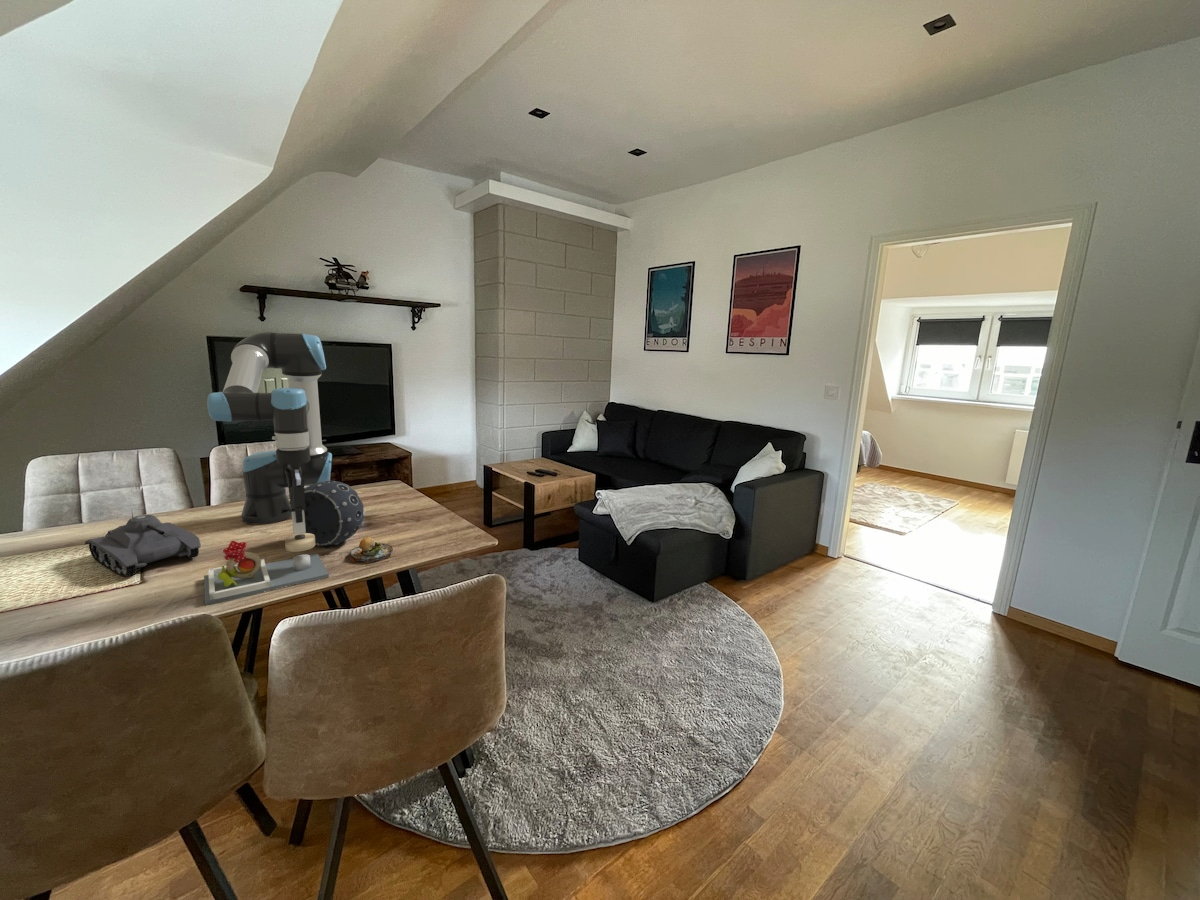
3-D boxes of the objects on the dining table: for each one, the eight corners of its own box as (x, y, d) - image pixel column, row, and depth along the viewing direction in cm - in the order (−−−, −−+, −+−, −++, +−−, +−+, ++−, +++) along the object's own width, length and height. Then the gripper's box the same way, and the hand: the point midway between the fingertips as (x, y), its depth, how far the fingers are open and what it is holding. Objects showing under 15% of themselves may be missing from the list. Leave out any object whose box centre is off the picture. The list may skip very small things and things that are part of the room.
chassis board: (204, 579, 125) (202, 565, 125) (317, 556, 142) (316, 543, 141) (205, 605, 113) (203, 589, 113) (328, 577, 130) (327, 563, 129)
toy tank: (123, 584, 122) (114, 528, 119) (86, 559, 133) (77, 508, 130) (206, 559, 137) (200, 509, 134) (167, 539, 149) (160, 493, 146)
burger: (398, 557, 145) (397, 534, 143) (356, 568, 137) (355, 543, 135) (384, 544, 153) (383, 522, 152) (344, 554, 145) (342, 530, 143)
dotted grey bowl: (346, 553, 145) (342, 490, 141) (289, 545, 148) (284, 483, 144) (369, 540, 155) (366, 481, 151) (316, 533, 159) (312, 474, 155)
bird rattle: (247, 581, 128) (206, 578, 121) (263, 540, 129) (224, 536, 122) (255, 589, 124) (213, 587, 117) (271, 547, 125) (231, 543, 118)
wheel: (283, 545, 132) (282, 534, 131) (313, 539, 136) (312, 529, 135) (287, 553, 126) (286, 542, 126) (317, 548, 131) (316, 537, 130)
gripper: (272, 444, 128) (280, 527, 133) (278, 453, 118) (286, 543, 123) (305, 442, 133) (311, 523, 138) (313, 450, 123) (319, 537, 128)
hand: (299, 532), depth 130 cm, fingers closed
